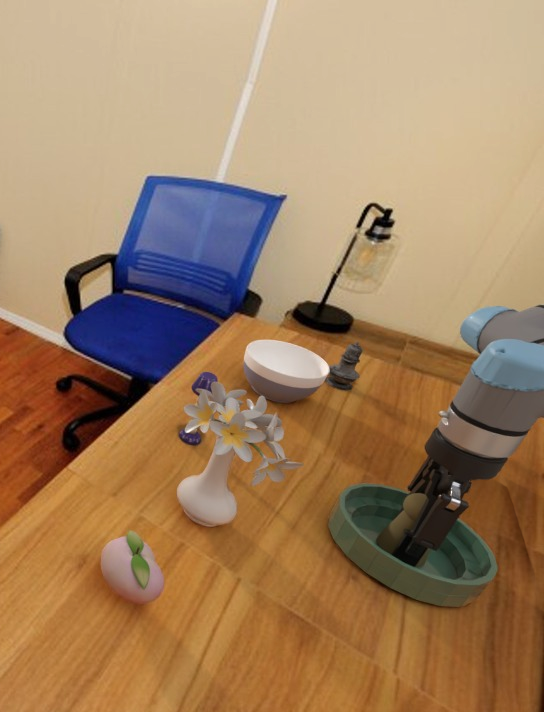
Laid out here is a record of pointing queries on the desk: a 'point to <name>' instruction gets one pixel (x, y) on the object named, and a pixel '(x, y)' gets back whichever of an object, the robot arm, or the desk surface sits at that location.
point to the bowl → (283, 370)
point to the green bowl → (426, 583)
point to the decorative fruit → (132, 569)
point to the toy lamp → (200, 383)
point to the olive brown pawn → (403, 525)
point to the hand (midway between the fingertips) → (400, 548)
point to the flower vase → (229, 452)
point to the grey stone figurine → (345, 368)
